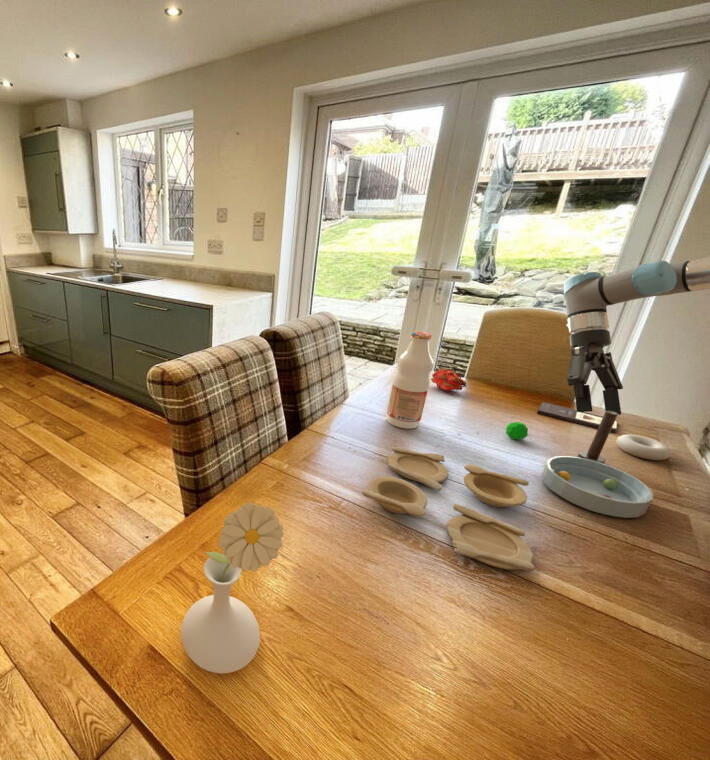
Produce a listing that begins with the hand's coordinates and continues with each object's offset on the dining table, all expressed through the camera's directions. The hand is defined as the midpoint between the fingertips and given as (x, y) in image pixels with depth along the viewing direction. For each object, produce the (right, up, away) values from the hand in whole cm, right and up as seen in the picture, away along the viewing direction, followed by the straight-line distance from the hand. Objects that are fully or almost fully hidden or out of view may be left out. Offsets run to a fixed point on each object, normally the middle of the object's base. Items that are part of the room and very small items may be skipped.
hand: (599, 413), depth 99 cm
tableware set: (-47, -18, -13) cm, 52 cm away
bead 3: (-15, -17, -16) cm, 27 cm away
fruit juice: (-39, -5, +21) cm, 45 cm away
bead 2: (-8, -15, -10) cm, 20 cm away
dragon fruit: (-11, +5, +45) cm, 46 cm away
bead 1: (-16, -14, -8) cm, 23 cm away
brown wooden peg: (-1, -12, +2) cm, 13 cm away
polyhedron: (-12, -8, +13) cm, 19 cm away
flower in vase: (-97, -30, -42) cm, 110 cm away
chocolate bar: (+17, -4, +24) cm, 30 cm away
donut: (+17, -11, +6) cm, 21 cm away
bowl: (-13, -17, -10) cm, 24 cm away
